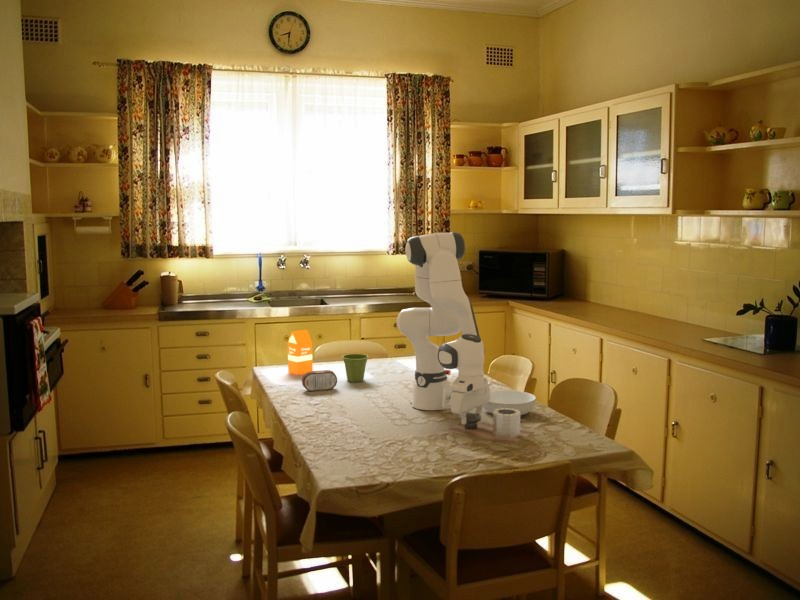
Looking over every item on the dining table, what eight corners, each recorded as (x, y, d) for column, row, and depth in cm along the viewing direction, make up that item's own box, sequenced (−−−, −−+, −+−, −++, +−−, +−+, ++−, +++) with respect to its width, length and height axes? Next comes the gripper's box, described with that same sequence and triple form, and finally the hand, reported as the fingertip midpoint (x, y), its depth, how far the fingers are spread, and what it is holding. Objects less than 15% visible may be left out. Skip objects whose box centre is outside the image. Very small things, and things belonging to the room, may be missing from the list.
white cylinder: (501, 429, 259) (501, 406, 258) (524, 434, 254) (525, 410, 252) (487, 435, 252) (488, 412, 251) (511, 440, 246) (511, 417, 245)
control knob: (467, 423, 266) (467, 409, 265) (484, 427, 262) (484, 412, 261) (457, 428, 260) (457, 413, 260) (474, 431, 256) (474, 417, 256)
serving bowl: (524, 405, 295) (524, 388, 294) (543, 420, 275) (544, 402, 274) (473, 408, 292) (473, 391, 291) (488, 423, 271) (489, 405, 270)
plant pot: (344, 384, 332) (344, 359, 330) (340, 378, 343) (340, 354, 342) (371, 382, 334) (370, 358, 333) (366, 377, 346) (365, 353, 344)
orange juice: (288, 372, 357) (287, 330, 354) (303, 369, 363) (302, 328, 360) (297, 374, 351) (296, 332, 349) (313, 371, 357) (312, 330, 355)
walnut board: (469, 423, 271) (469, 419, 271) (533, 436, 256) (533, 432, 255) (443, 434, 259) (443, 430, 259) (510, 448, 243) (510, 444, 243)
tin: (336, 388, 326) (336, 368, 325) (338, 389, 323) (337, 370, 322) (302, 391, 321) (301, 371, 320) (303, 392, 318) (303, 373, 317)
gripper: (479, 375, 269) (479, 412, 271) (447, 386, 253) (447, 426, 255) (494, 377, 265) (494, 415, 267) (462, 388, 249) (462, 429, 251)
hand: (471, 420), depth 261 cm, fingers closed on control knob, 7 cm apart
